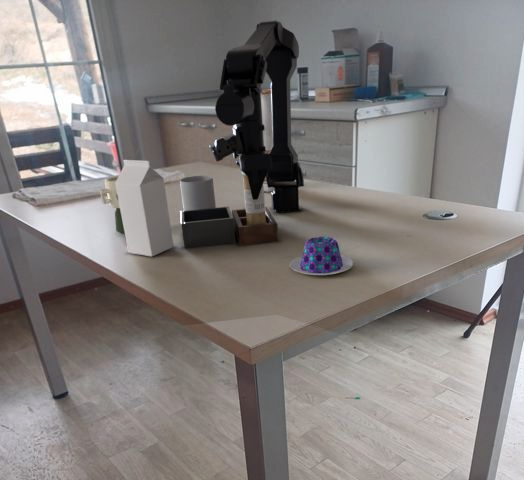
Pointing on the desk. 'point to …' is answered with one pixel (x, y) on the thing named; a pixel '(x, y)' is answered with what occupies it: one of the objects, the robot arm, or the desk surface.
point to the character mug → (113, 201)
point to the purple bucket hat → (321, 258)
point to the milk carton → (144, 209)
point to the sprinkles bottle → (254, 205)
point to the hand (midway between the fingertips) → (253, 197)
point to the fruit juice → (267, 126)
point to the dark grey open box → (207, 227)
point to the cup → (197, 192)
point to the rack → (254, 228)
